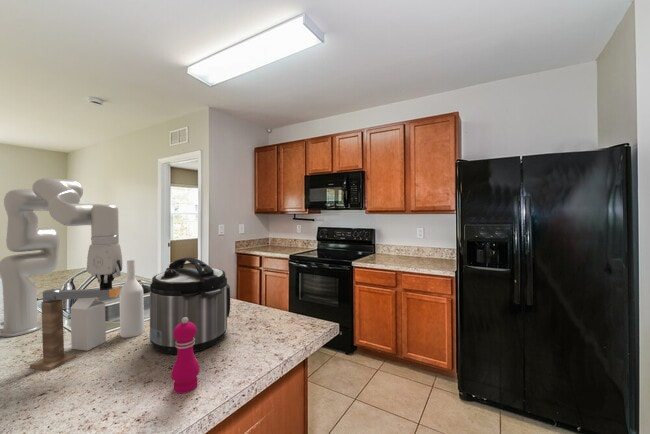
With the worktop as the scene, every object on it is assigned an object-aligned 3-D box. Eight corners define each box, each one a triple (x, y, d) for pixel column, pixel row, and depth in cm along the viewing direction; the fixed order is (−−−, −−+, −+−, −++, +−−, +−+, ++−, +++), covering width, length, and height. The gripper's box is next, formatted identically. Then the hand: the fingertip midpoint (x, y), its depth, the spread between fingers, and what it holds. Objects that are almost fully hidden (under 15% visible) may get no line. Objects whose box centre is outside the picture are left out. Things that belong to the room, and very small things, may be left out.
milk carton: (87, 351, 104) (86, 298, 103) (71, 349, 105) (69, 296, 105) (106, 342, 111) (105, 292, 110) (90, 340, 112) (89, 291, 112)
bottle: (129, 329, 123) (128, 257, 122) (148, 329, 123) (147, 258, 122) (115, 337, 115) (113, 261, 114) (134, 338, 114) (133, 261, 113)
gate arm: (39, 302, 93) (38, 293, 93) (49, 298, 97) (48, 289, 97) (114, 298, 97) (114, 289, 97) (121, 294, 102) (121, 285, 102)
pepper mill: (177, 379, 87) (177, 313, 86) (203, 378, 87) (202, 312, 87) (166, 395, 80) (165, 322, 79) (194, 394, 80) (193, 321, 80)
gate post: (50, 370, 92) (48, 305, 91) (29, 367, 93) (27, 304, 92) (76, 357, 100) (74, 297, 99) (56, 355, 101) (55, 296, 100)
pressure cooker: (232, 351, 104) (231, 262, 103) (140, 365, 95) (138, 268, 94) (229, 320, 132) (228, 250, 131) (158, 329, 123) (157, 254, 122)
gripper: (76, 241, 98) (77, 295, 99) (114, 242, 96) (115, 298, 97) (97, 238, 106) (97, 289, 107) (133, 240, 103) (133, 291, 104)
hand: (106, 293), depth 102 cm, fingers closed
